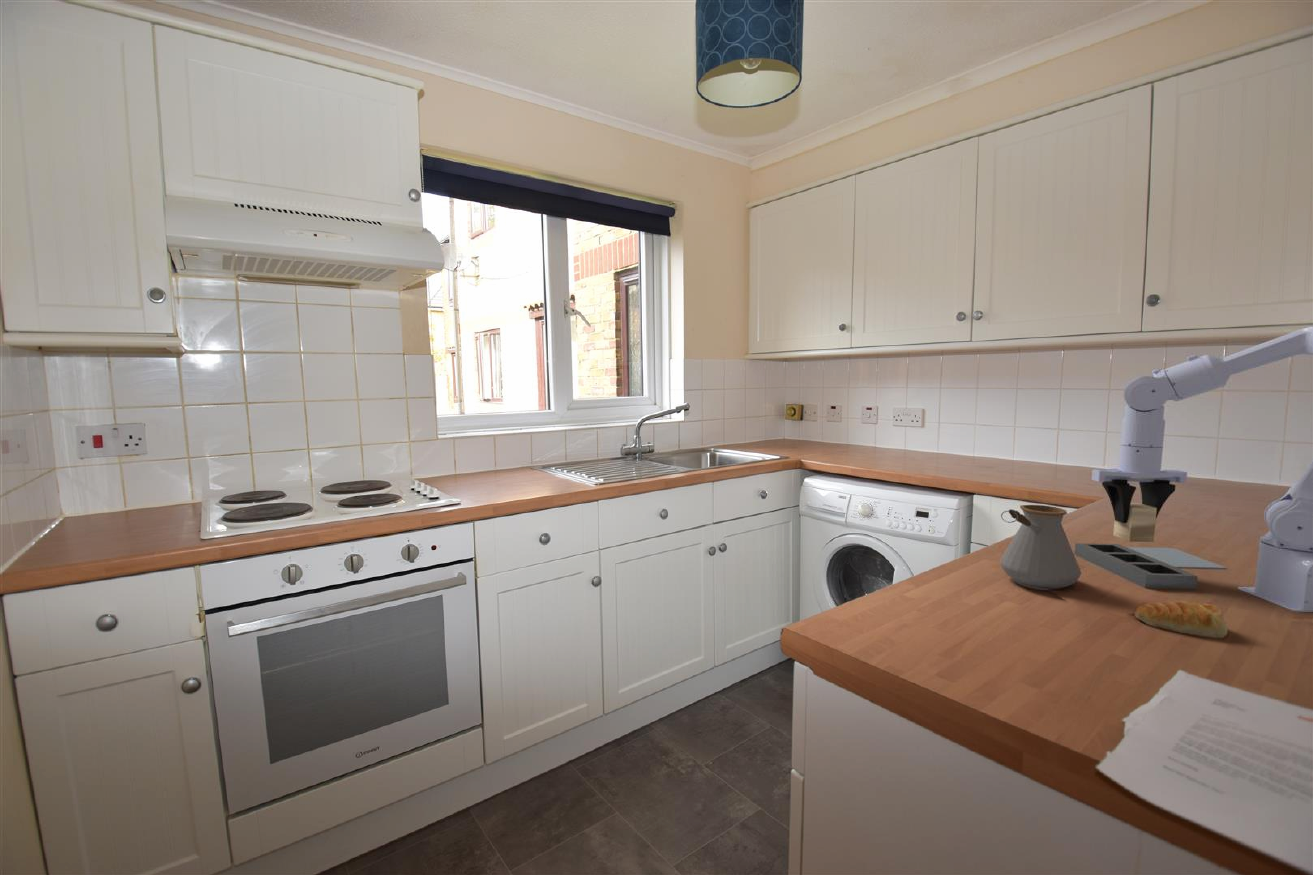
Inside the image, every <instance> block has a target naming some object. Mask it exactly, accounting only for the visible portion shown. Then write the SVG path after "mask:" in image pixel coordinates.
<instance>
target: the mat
mask: <svg viewBox="0 0 1313 875" xmlns="http://www.w3.org/2000/svg"><path fill="white" fill-rule="evenodd" d="M1126 547H1127V548H1129V549H1132V550H1134V551H1137V552H1139V553H1142V554H1144V555H1147V556H1149V557H1152V558H1154V559H1157V560H1159V561H1162V562H1164V563H1167V564H1169V565H1172V566H1174V567H1177V568H1179V569H1202V570H1203V569H1205V570H1206V569H1207V570H1209V569H1211V570H1215V569H1217V570H1228V569H1227V568H1228V567H1226V566H1223V565H1221V564H1218V563H1215V562H1213V561H1210V560H1207V559H1204V558H1202V557H1199V556H1196V555H1193V554H1191V553H1188V552H1186V551H1183V550H1179V549H1177V548H1174V547H1146V546H1145V547H1137V546H1136V547H1135V546H1134V547H1133V546H1131V547H1130V546H1126Z"/></svg>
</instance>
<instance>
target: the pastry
mask: <svg viewBox="0 0 1313 875" xmlns="http://www.w3.org/2000/svg"><path fill="white" fill-rule="evenodd" d="M1134 611H1135V612H1134V617H1136V618H1137V620H1140V621H1142V622H1143V623H1145V624H1146V625H1147V626H1148V625H1149V626H1151V627H1154V628H1159V629H1164V630H1168V631H1171V632H1176V633H1179V634H1189V635H1192V636H1193V635H1194V636H1199V637H1204V638H1205V637H1207V638H1215V639H1223V638H1224V637H1225V636H1227V635H1228V627H1227V623H1226V621H1225V619H1224V615H1223V611H1222V610H1221V609H1220V608H1219V607H1218V606H1217V605H1216V604H1209V603H1203V604H1200V603H1197V602H1196V603H1195V602H1192V601H1185V600H1184V601H1183V600H1172V601H1166V602H1152V603H1147V604H1141V605H1138V607H1137V608H1136V610H1134Z"/></svg>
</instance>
